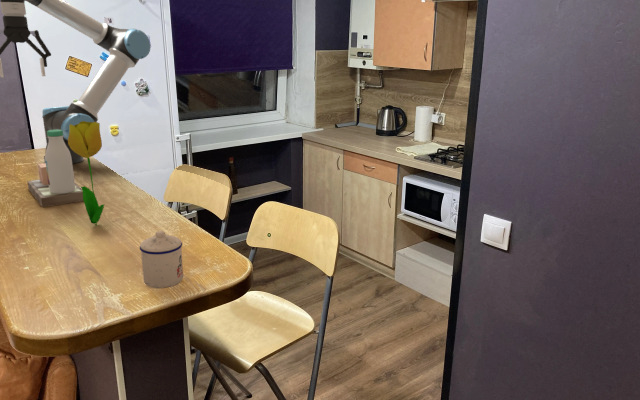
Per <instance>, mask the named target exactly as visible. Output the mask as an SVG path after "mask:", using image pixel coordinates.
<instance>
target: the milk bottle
mask: <svg viewBox="0 0 640 400" xmlns="http://www.w3.org/2000/svg"><path fill="white" fill-rule="evenodd" d="M47 136H48V139H49V143H48V147H47V150H46V149H45V151H46V153H45V152H44V156H45V162H46V170H47V177H48V185H49V191H50V192H51V193H53V194H65V193H70V192H73V191H74V190H75V183H76V181H75V175H74V166H73V164H72V158H71V154H70V151H69V149H68V148H67V146H66V145H65V143H64V140H63V137H64V136H63V130H49V131H47Z"/></svg>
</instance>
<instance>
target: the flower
mask: <svg viewBox="0 0 640 400" xmlns="http://www.w3.org/2000/svg"><path fill="white" fill-rule="evenodd" d="M100 127H101V125H100V122H98V121H97V122H86V121H81V122H80V123H79V124H77V125H75V126H74V125H71V124H70V125H69V137H68V145H69V146H70V148H71V149H72V150H73V151H74V152H75V153H77V154H78V155H80V156H81V157H83V159H84V158H85V159H87V164H88V169H89V176H90V181H91V189H90V188H89V187H87V186H83V185H82V186H80V188H81V189H82V192H83V200H84V201H83V203H84V206H85V210H86V213H87V216H88V218H89V221H90V223H91V224H94V225H95V226H97V223H99V221H100V219H101V216H102V213H103V211H104V208H105V207H104V206H105V204H100V205H99V203H98V200H97V197H96V195H95V191H94V184H93V181H94V180H93V175H92V168H91V167H92V166H91V159H90V158H91V157H94V156H95V155H97V154H98V153H99V152H100V151H101V149H102V147H103V143H102V142H103V141H102V137H101V131H100Z"/></svg>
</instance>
